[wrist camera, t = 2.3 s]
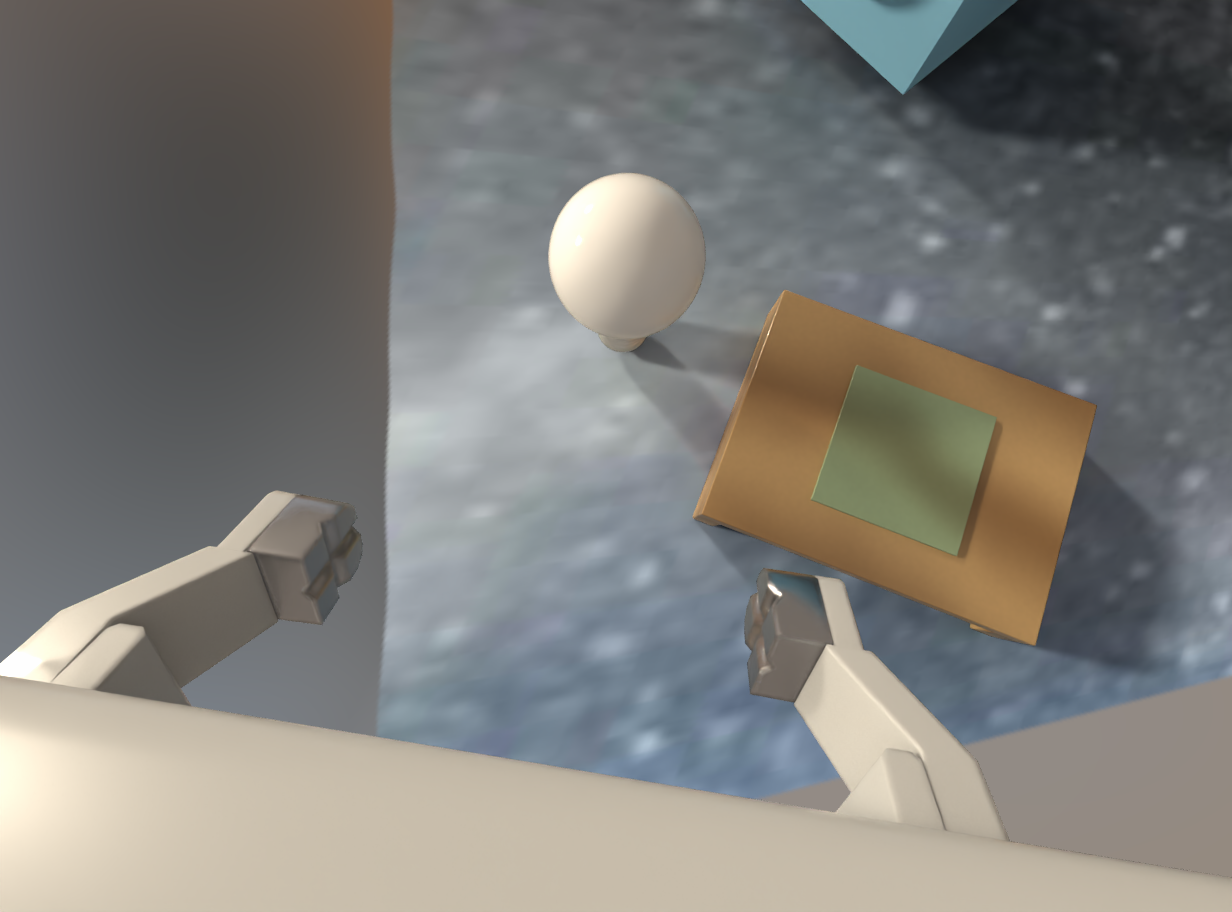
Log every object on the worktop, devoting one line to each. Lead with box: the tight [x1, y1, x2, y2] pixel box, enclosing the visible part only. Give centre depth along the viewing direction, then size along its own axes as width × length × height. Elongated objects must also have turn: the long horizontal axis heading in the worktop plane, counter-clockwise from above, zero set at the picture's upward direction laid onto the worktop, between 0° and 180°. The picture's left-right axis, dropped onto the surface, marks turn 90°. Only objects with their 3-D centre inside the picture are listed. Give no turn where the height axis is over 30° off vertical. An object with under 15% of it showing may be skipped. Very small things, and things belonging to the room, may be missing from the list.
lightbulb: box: [548, 173, 706, 352], centre depth 26 cm, size 6×6×11 cm
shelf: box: [693, 290, 1097, 646], centre depth 28 cm, size 12×16×3 cm
